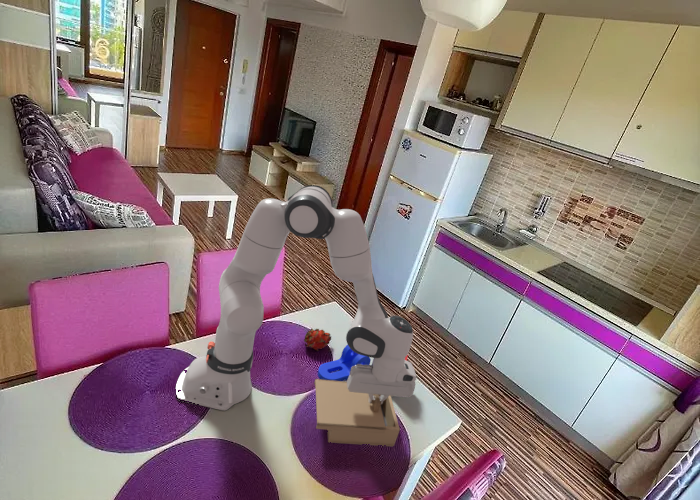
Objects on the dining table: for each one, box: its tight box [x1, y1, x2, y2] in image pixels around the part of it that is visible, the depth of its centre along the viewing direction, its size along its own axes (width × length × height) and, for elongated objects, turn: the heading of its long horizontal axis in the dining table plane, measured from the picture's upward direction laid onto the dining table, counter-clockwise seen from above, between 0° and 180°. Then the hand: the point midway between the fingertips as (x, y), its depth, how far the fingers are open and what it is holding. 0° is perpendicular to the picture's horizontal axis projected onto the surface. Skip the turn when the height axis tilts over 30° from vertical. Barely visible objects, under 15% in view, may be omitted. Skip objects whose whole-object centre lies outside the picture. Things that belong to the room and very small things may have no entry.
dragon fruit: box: [303, 328, 332, 352], centre depth 153 cm, size 8×8×12 cm
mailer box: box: [327, 395, 400, 447], centre depth 124 cm, size 20×16×7 cm
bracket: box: [317, 344, 372, 381], centre depth 143 cm, size 18×8×9 cm, turn 124°
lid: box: [314, 378, 386, 434], centre depth 121 cm, size 20×18×5 cm
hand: (374, 402), depth 123 cm, fingers closed on lid
